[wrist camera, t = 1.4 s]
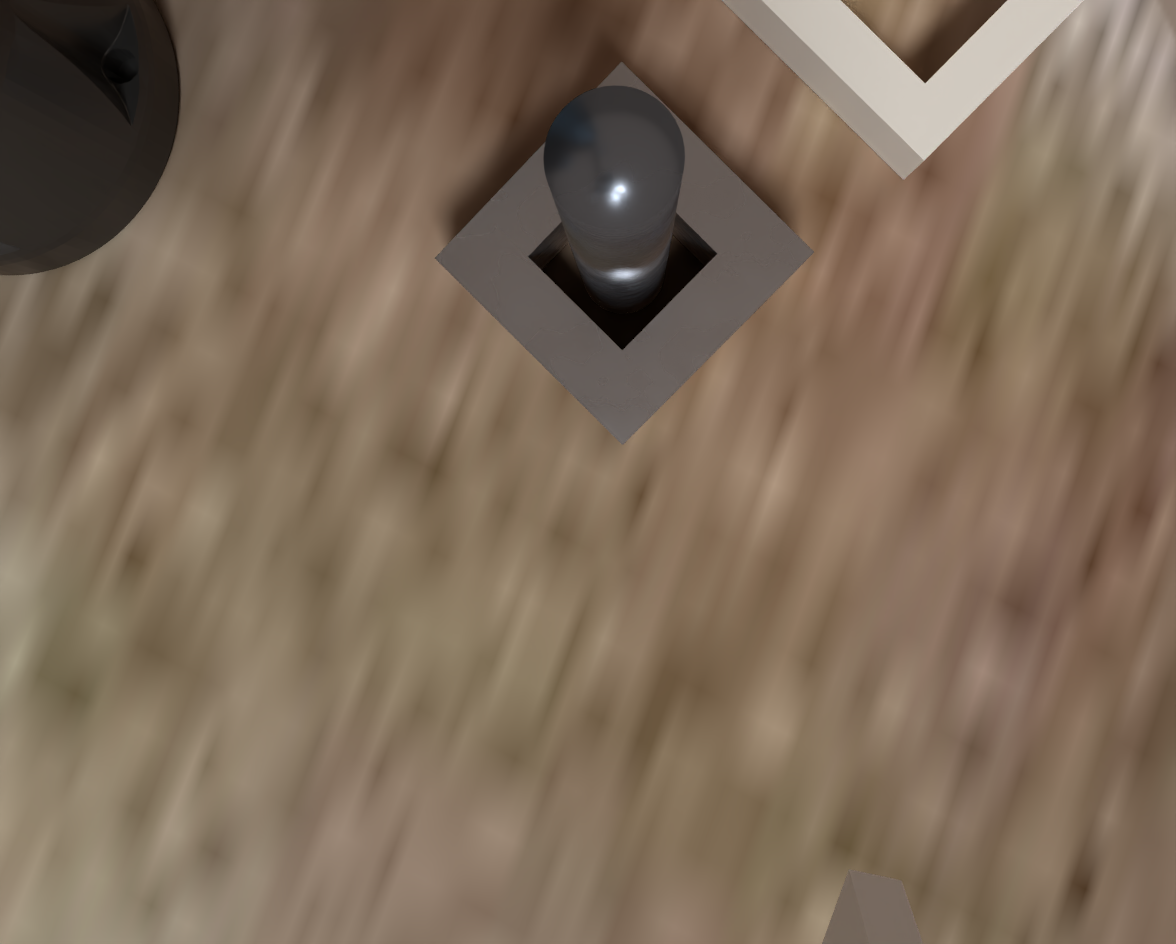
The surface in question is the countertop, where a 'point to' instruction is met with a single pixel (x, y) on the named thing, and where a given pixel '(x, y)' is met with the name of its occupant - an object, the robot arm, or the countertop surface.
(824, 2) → the block
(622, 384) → the socket block
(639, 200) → the rod
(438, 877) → the countertop surface
